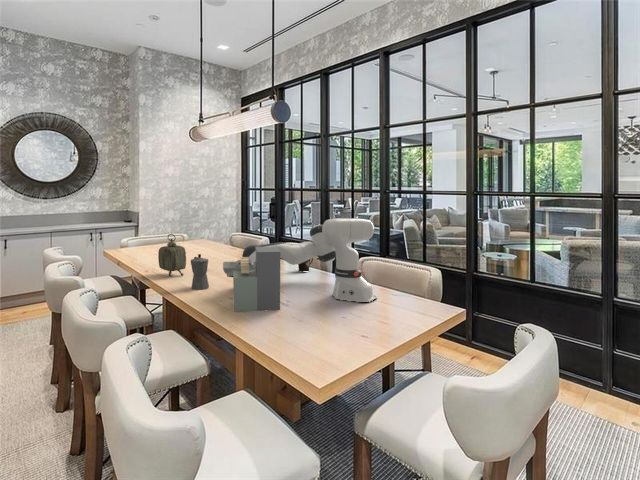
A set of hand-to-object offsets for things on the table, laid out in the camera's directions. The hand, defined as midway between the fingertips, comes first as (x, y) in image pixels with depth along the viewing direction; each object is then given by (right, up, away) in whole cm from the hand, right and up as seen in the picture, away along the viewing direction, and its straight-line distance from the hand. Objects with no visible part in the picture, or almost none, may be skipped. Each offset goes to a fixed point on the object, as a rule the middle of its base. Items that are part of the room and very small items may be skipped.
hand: (244, 261), depth 188 cm
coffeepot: (-28, -15, +24) cm, 40 cm away
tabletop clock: (-52, -12, +49) cm, 73 cm away
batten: (+1, -3, -6) cm, 7 cm away
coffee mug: (+27, -10, +69) cm, 75 cm away
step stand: (+7, -20, -7) cm, 22 cm away
